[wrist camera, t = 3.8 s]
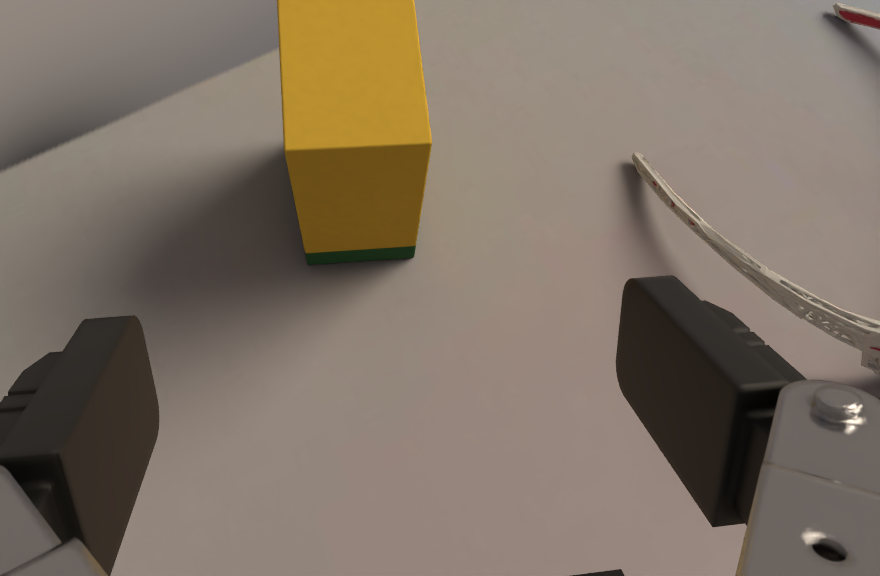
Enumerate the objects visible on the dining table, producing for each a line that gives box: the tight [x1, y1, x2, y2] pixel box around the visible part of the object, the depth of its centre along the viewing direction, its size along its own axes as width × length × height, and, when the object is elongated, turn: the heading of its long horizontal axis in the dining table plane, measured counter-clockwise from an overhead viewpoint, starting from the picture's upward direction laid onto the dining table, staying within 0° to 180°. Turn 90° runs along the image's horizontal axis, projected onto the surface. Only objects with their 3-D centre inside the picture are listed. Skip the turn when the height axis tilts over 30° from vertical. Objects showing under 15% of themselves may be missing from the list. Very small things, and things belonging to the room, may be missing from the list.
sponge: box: [277, 0, 432, 265], centre depth 27 cm, size 4×6×9 cm
